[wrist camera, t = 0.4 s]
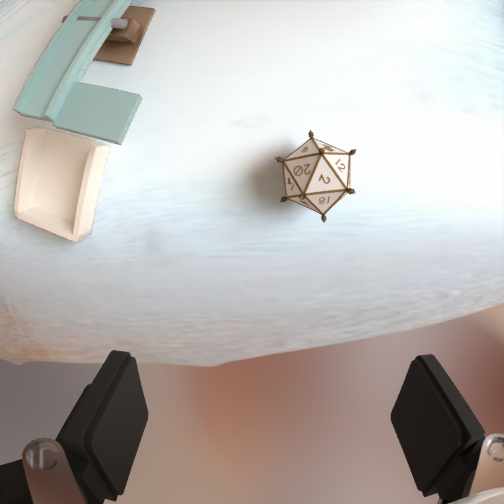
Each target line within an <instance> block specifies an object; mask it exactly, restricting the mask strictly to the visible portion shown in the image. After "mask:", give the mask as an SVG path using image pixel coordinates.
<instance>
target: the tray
mask: <svg viewBox="0 0 504 504" xmlns="http://www.w3.org/2000/svg"><path fill="white" fill-rule="evenodd" d="M110 147H111V146H110V145H106V144H103V143H99V142H96V141H92V140H88V139H85V138H81V137H77V136H73V135H69V134H65V133H62V132H58V131H54V130H50V129H45V128H30V129H27V130H26V134H25V139H24V144H23V149H22V154H21V160H20V166H19V172H18V179H17V186H16V194H15V204H14V214H13V216H15V217H17V218H19V219H21V220H24V221H26V222H28V223H31V224H33V225H35V226H38V227H40V228H42V229H45V230H47V231H50V232H52V233H54V234H57V235H59V236H62V237H64V238H66V239H69V240H71V241H74V242H76V243H77V242H79V241H81V240H82V239H84V238H85V237H87V236H88V235H90V234H91V233H92V227H93V222H94V216H95V211H96V206H97V201H98V197H99V192H100V187H101V183H102V179H103V174H104V170H105V166H106V162H107V158H108V155H109V151H110Z"/></svg>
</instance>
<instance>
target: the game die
mask: <svg viewBox="0 0 504 504" xmlns="http://www.w3.org/2000/svg"><path fill="white" fill-rule="evenodd" d="M313 136H314V135H313V133H312V131H311V130H310V132H309V137H310V139H309V140H308V141H306V142H305V143H304V144H303V145H301V146H300V147H299V148H298V149H296V150H295V151H294V152H293V153H291V154H290V155H289V156H288V157H286V158H285V159H284V160H283V159H282V158H280V157H277V158H275V159H276V160H277V162H279V163H280V162H282V163H283V172H284V181H285V191H286V196H285V197H283V198H281V201H280V202H285V201H286V200H287V199H290V200H292V201H294V202H296V203H298V204H301V205H303V206H305V207H307V208H309V209H311V210H313V211H315V212H317V213H319V214H321V215H322V217H321V218H322V219H321V220H322V221H323V222H324V223H325V221H326V216H325V214H326V213H327V212H328V211H329V210H330V209H331V208H332V207H333V206H334V205H335V204H336V203H337V202H338V201H339V200H340V199H341V198H342V197H343V196H345V195H346V194H347V193H349V194H353V193H355V191H354V189H352V188H351V189H350V156H351V155H353V154H355V152H356V149H354V150H351V151H350V152H349V153H347V152H345V151H343V150H340V149H338V148H336V147H334V146H331V145H329V144H327V143H324V142H322V141H319V140H317V139H315V138H313Z"/></svg>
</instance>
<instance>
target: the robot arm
mask: <svg viewBox="0 0 504 504" xmlns="http://www.w3.org/2000/svg"><path fill="white" fill-rule="evenodd" d="M147 420H148V409H147V406H146V402H145V398H144V394H143V390H142V386H141V382H140V377H139V373H138V369H137V364H136V360H135V358H134V357H131V355H130V353H129V352H124V351H116V350H113V351H111V352H110V354H109V356H108V357H107V359H106V360H105V362H104V364H103V365H102V367H101V369H100V370H99V372H98V374H97V375H96V377H95V379H94V380H93V382H92V384H89V385H87V386H86V388H85V389H84V391H83V393H82V394H81V396H80V398H79V399H78V401H77V403H76V405H75V406H74V408H73V410H72V411H71V413H70V415H69V417H68V418H67V420H66V422H65V423H64V425H63V427H62V429H61V431H60V433H59V434H58V436H57V438H56V440H53V439H51V438H38V439H35V440H32V441H31V442H29V443H28V444H27V445H26V447H25V448H24V449H23V452H22V459H21V460H17V461H14V462H10V463H7V464H4V465H0V504H103V503H104V500H105V499H108V500H112V501H115V502H116V500H117V496H118V495H122V494H123V492H124V490H125V487H126V483H127V480H128V477H129V474H130V471H131V468H132V465H133V462H134V459H135V456H136V453H137V450H138V447H139V444H140V441H141V438H142V435H143V432H144V429H145V426H146V423H147ZM391 422H392V424H393V427H394V429H395V432H396V434H397V437H398V439H399V442H400V444H401V447H402V449H403V452H404V454H405V457H406V460H407V462H408V465H409V467H410V470H411V473H412V475H413V478H414V481H415V483H416V486H417V489H418V490H419V491H422V493H423V496H424V497H427V496H430V495H433V494H436V493H438V495H439V497H440V498H439V500H438V502H437V504H504V435H503V434H492V435H490V436H488V437H487V438H485V437H484V433H485V431H484V429H483V428H482V426H481V424H480V423H479V421H478V420H477V418H476V417H475V415H474V414H473V412H472V410H471V409H470V407H469V406H468V404H467V403H466V401H465V400H464V398H463V397H462V395H461V394H460V392H459V391H458V389H457V388H456V386H455V385H454V383H453V382H452V380H451V379H450V377H449V376H448V375H447V373H446V372H445V370H444V369H443V367H442V366H441V365H440V363H439V362H438V360H437V359H436V358H435V356H434V355H432V354H429V355H419V356H417V357H416V358H415V360H413V361H412V362H411V364H410V367H409V370H408V372H407V375H406V378H405V380H404V383H403V385H402V388H401V391H400V393H399V395H398V398H397V400H396V403H395V405H394V407H393V410H392V412H391Z"/></svg>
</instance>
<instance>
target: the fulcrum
mask: <svg viewBox="0 0 504 504" xmlns="http://www.w3.org/2000/svg"><path fill="white" fill-rule="evenodd" d="M154 12H155V9H153V8H145V7H136V6H129V7H128V8H127V9H126V11H125V12H124V13H123V15H122V16H121V18H120V19H127V20H128V24H127V26H126V28H125V29H121V28H113V29H112V30H111V32H110V33H109V35H108V36H107V38H106V39H105V41H104V43H103V44H102V46H101V47H100V49H99V50H98V52H97V54H96V55H95V57H94V59H98V60H105V61H111V62H117V63H123V64H129V65H132V63H133V60H134V58H135V55H136V53H137V51H138V48H139V46H140V43H141V41H142V39H143V36H144V34H145V32H146V30H147V27H148V25H149V23H150V21H151V19H152V17H153V15H154Z"/></svg>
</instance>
